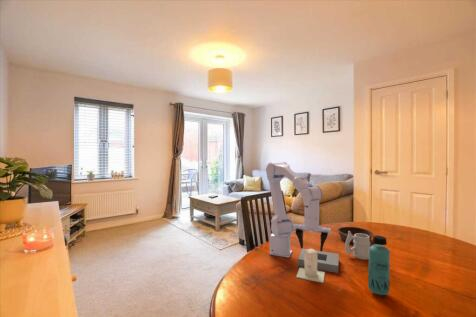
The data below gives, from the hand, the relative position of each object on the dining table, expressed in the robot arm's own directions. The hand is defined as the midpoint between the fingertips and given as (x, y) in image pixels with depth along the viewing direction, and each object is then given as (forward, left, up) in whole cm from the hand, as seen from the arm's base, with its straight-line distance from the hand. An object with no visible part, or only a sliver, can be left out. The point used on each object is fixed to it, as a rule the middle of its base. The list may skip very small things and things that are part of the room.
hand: (311, 249), depth 98 cm
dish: (+18, +46, -10) cm, 50 cm away
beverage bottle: (+23, -7, -10) cm, 26 cm away
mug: (+18, +23, -10) cm, 31 cm away
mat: (0, -3, -9) cm, 10 cm away
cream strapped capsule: (0, -3, -9) cm, 9 cm away
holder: (+2, +9, -9) cm, 13 cm away
